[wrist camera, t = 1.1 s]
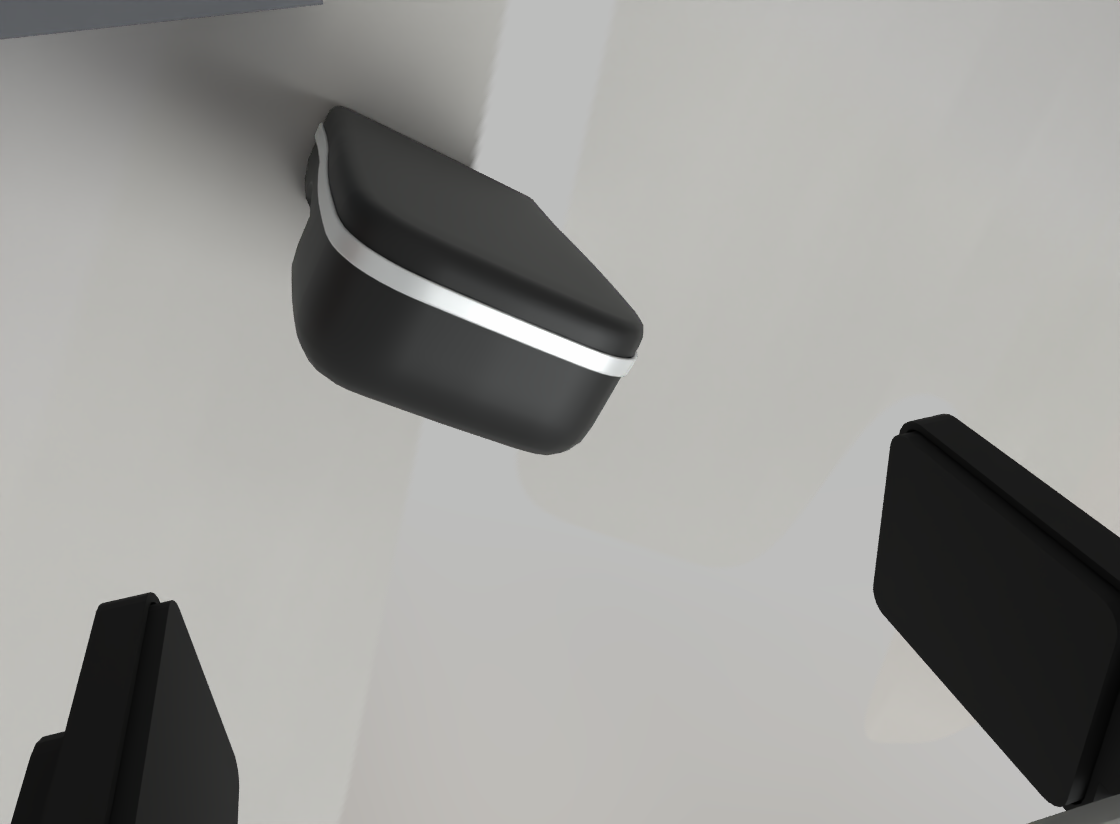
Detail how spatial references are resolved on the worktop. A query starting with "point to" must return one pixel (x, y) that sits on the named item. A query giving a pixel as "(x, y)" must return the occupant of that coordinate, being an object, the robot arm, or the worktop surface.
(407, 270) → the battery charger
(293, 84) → the worktop surface
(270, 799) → the worktop surface
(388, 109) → the worktop surface
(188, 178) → the worktop surface
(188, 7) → the dock
